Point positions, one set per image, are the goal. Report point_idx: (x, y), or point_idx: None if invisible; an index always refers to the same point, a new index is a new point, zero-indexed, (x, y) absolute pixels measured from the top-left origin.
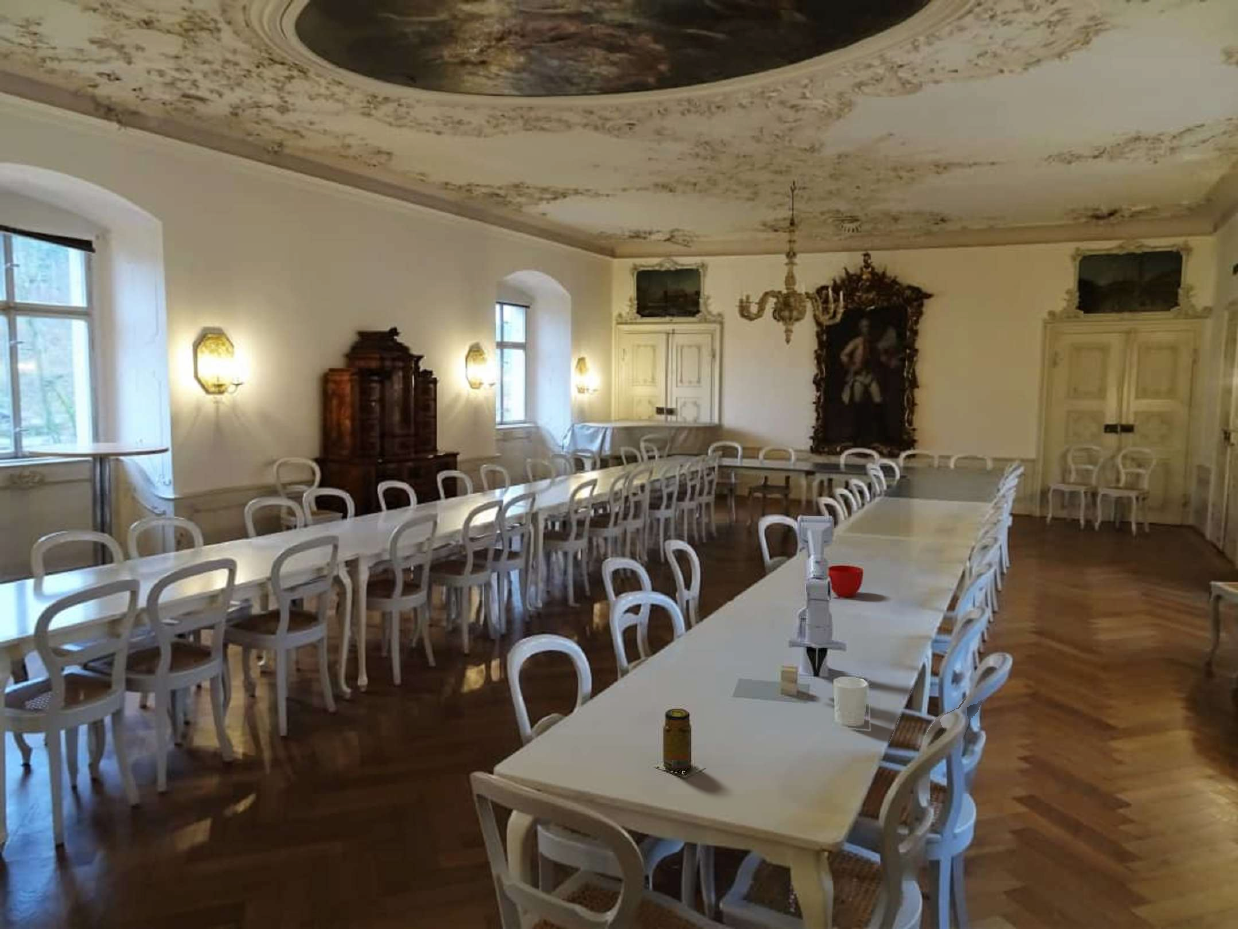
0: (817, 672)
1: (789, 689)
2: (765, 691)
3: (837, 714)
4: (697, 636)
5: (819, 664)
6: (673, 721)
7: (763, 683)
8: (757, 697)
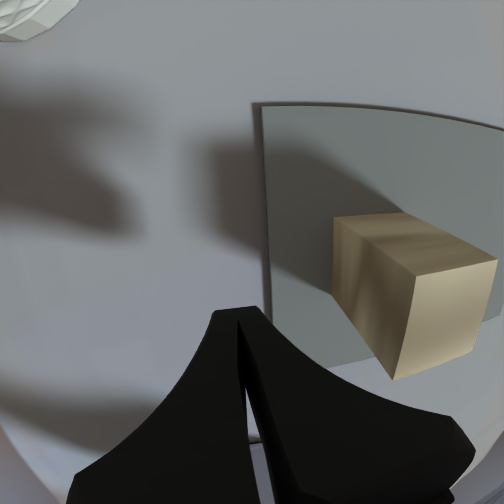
0: (227, 325)
1: (381, 222)
2: (456, 221)
3: None
4: (474, 460)
5: (208, 379)
6: None
7: None
8: (477, 140)
